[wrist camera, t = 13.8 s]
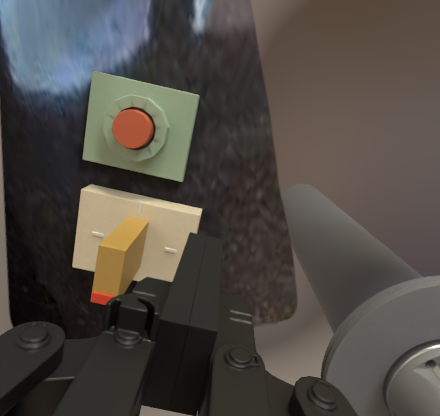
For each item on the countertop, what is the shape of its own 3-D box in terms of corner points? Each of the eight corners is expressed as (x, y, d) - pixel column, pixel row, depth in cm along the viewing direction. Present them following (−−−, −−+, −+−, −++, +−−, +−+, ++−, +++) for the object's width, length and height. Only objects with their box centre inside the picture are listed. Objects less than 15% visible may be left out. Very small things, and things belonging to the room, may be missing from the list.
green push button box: (200, 96, 38) (197, 94, 35) (183, 180, 41) (179, 185, 38) (96, 71, 38) (85, 68, 35) (86, 158, 40) (75, 161, 38)
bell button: (156, 114, 36) (152, 114, 35) (150, 150, 37) (146, 152, 36) (120, 106, 36) (114, 105, 35) (115, 142, 37) (109, 143, 36)
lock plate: (202, 208, 42) (200, 215, 39) (186, 280, 44) (183, 292, 41) (91, 183, 41) (80, 188, 38) (82, 257, 44) (71, 268, 41)
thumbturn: (128, 216, 39) (97, 245, 30) (149, 221, 39) (125, 251, 30) (120, 262, 41) (89, 303, 32) (140, 267, 41) (115, 309, 32)
